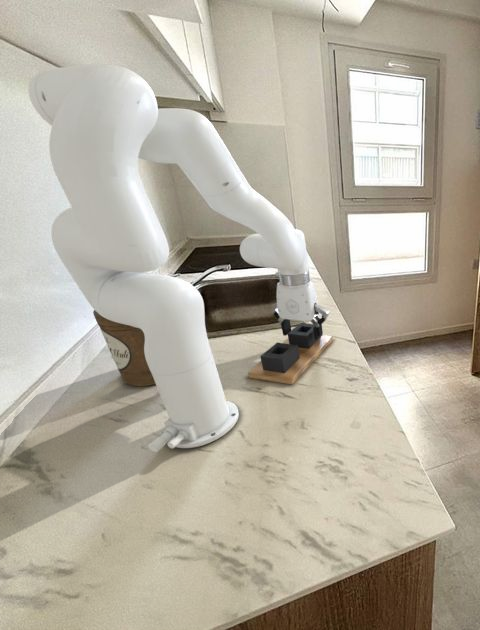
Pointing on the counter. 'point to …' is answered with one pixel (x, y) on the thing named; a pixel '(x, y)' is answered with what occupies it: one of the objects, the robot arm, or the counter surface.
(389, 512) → the counter surface
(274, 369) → the black hollow rectangular block
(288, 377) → the wooden board
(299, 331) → the dark grey hollow block
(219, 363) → the counter surface
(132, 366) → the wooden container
